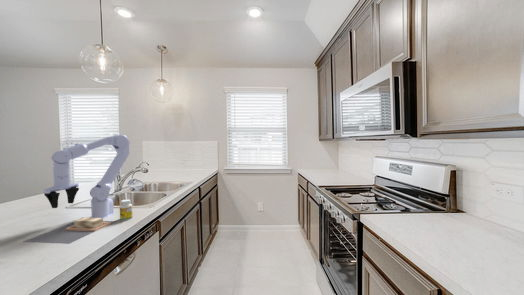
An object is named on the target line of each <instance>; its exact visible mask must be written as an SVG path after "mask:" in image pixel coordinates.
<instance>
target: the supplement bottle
mask: <svg viewBox="0 0 524 295" xmlns="http://www.w3.org/2000/svg"><path fill="white" fill-rule="evenodd" d="M133 213H134V212H133V204H132V203H131V199H122V200H121V201H120V205H119V220H120V221H129V220H132V219H133V217H134V216H133Z"/></svg>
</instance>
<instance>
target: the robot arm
mask: <svg viewBox="0 0 524 295" xmlns="http://www.w3.org/2000/svg"><path fill="white" fill-rule="evenodd" d="M130 144H131V142H130V139H129V137H127V135H125V134H115V135H112V136H105V137H103V138H100V139H97V140H95V141H92V142H89V143H86V144H84V143H78V142H77V143H74V145H73V146H69V147H63V148H62V149H60V150H56V151H54V153H52V156H51V158H50V159H51V160H52V161H53V163H52V165H53V167H52V170H53V186H51V187H48V188H44V189H43V193H44V196H45V197H46V199H47V200H48V202H49V204H50V206H51V209H57V208H58V207H59V196H60V192H59V191H65V193H66V196H67V203H68V204H74V201H75V198H76V196H77V193H78V191H79V190H80V188H79V183H78V182H73V183H71V173H70V172H71V168H70V161H71V160H74V159H76V158H80V157H82V156H85V155H88V153H89V151H91V150H94V149H98V148H100V147H103V146H112V147H113V148H114V149H115V151H116V155H115V157H114V159H113V160H112V161H111V163H110V165H109V166H108V168H107V169H106V170H105V173H104V174H103V176H102V177H101V179H100V180H99V181H98V182H97V183H96V185H95V186H94V187H93V186H92V188H91V189H90V191H89V195H90V197H91V200H90V205H91V209H90V210H91V216H90V217H89V218H103V219H105V218H108V217H111V216H113V215H115V214H116V213H115V211H114V210H115V209H114V200H113V199H112V198H110V197H109V196H110V193H111V192H110V191H111V189H112V184H113V182H114V181H115V179H116V177H117V176H118V173H119V172H120V171H121V169H122V167H123V166H124V164H125V162H126V160H127V159H128V157H129V155H130Z"/></svg>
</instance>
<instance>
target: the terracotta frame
mask: <svg viewBox="0 0 524 295" xmlns="http://www.w3.org/2000/svg"><path fill="white" fill-rule="evenodd" d="M103 224H104V225H102V226H100V227H98V228H95V229H89V228H74V225H73V226H71V227H68V228H66V230H72V231H95V232H98V231H100V230H102V229H103V227H104V228H105V226H106V227H107V226H110V225H112V224H111V222H103ZM101 228H102V229H101Z"/></svg>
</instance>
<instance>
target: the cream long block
mask: <svg viewBox="0 0 524 295" xmlns="http://www.w3.org/2000/svg"><path fill="white" fill-rule="evenodd" d="M103 221H104V218H90V217H87V216H86V217H81V218H77V219H75V220H74V227H75V228H89V229H95V228H98V227H100V226H102V225H103Z"/></svg>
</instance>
